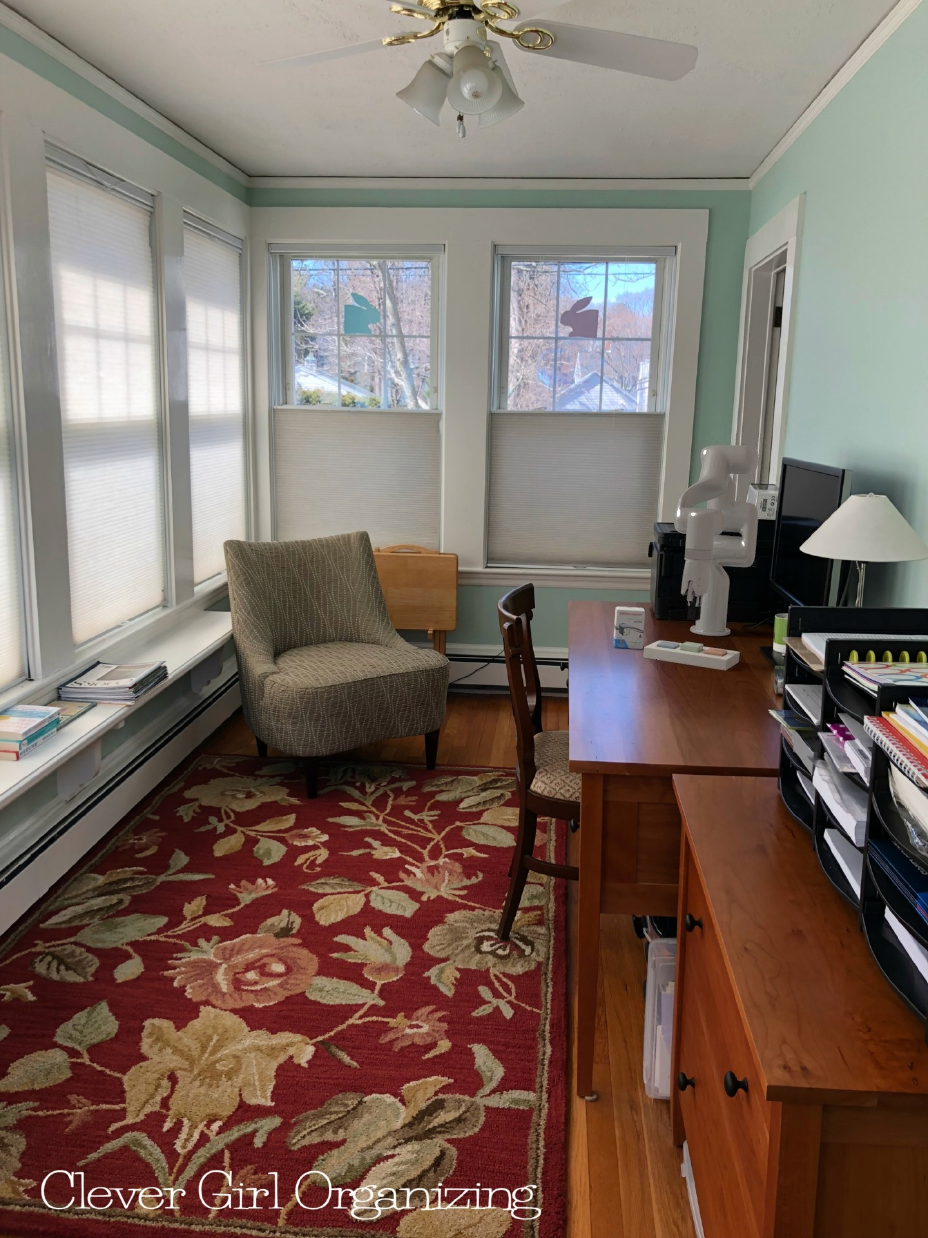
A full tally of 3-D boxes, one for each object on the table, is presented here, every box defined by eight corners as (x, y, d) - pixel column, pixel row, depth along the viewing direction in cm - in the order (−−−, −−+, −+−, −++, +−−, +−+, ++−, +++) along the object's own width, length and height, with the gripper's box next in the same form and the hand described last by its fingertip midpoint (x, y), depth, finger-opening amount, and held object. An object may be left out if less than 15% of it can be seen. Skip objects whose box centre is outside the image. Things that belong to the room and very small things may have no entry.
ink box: (613, 648, 289) (616, 609, 287) (612, 644, 294) (615, 606, 292) (643, 649, 288) (645, 610, 286) (641, 645, 293) (644, 607, 291)
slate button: (662, 650, 284) (663, 641, 283) (679, 652, 281) (679, 643, 280) (656, 653, 279) (656, 644, 279) (672, 655, 277) (673, 646, 276)
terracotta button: (709, 657, 276) (710, 648, 276) (726, 660, 274) (727, 650, 273) (703, 660, 272) (704, 651, 272) (720, 663, 270) (721, 653, 269)
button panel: (658, 649, 288) (659, 640, 287) (738, 662, 275) (739, 651, 275) (643, 657, 278) (643, 647, 277) (725, 670, 265) (726, 659, 265)
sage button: (685, 650, 280) (686, 641, 279) (702, 653, 277) (703, 644, 277) (679, 653, 276) (680, 644, 275) (696, 656, 273) (697, 647, 272)
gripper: (694, 551, 279) (689, 614, 282) (676, 556, 266) (671, 621, 270) (720, 554, 275) (715, 617, 278) (702, 558, 262) (697, 625, 266)
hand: (693, 619), depth 274 cm, fingers closed
